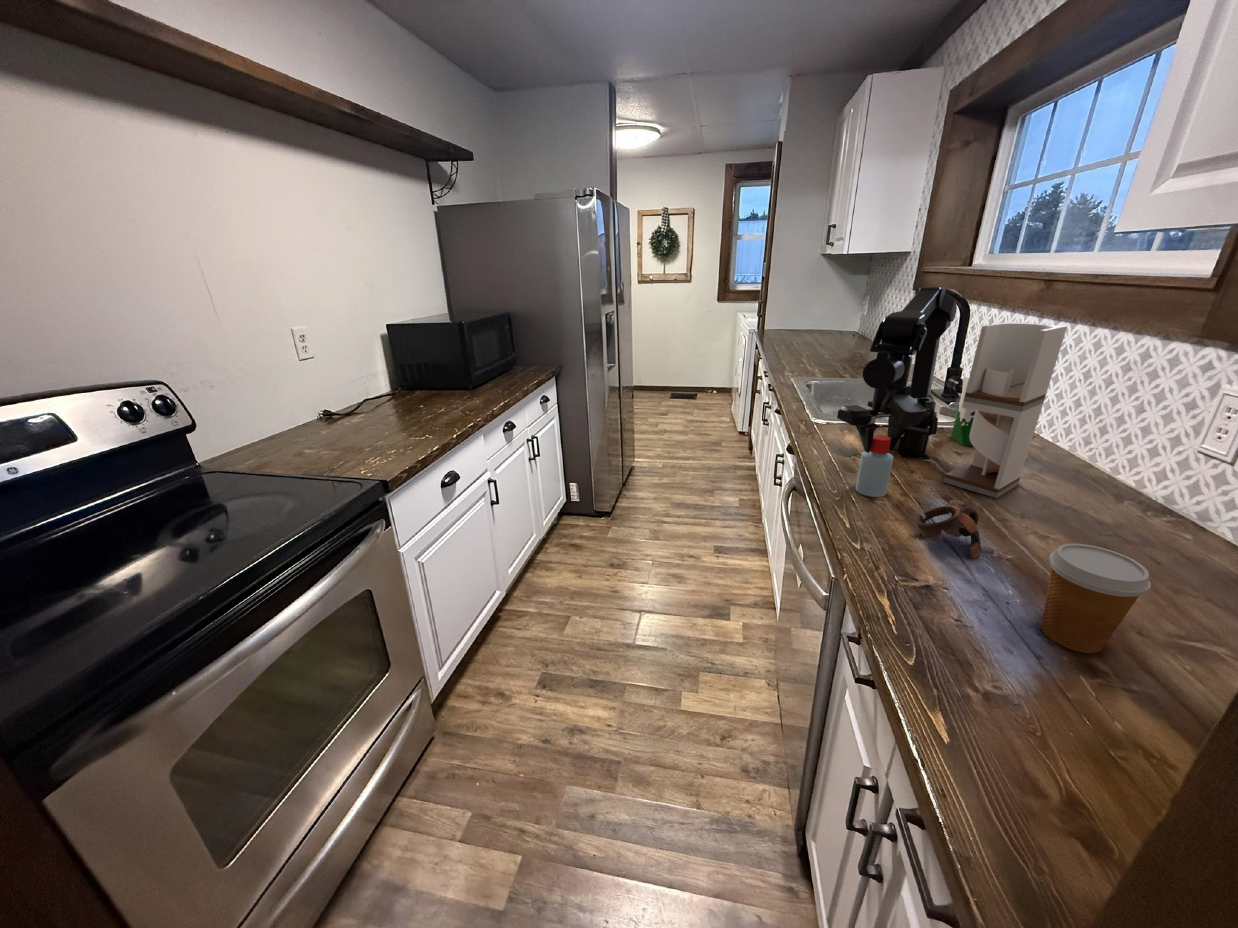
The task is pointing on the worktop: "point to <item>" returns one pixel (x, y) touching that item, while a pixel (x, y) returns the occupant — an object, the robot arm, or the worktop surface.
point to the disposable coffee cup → (1090, 595)
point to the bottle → (874, 474)
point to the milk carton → (963, 419)
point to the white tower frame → (1006, 402)
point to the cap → (880, 444)
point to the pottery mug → (952, 525)
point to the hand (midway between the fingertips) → (878, 451)
